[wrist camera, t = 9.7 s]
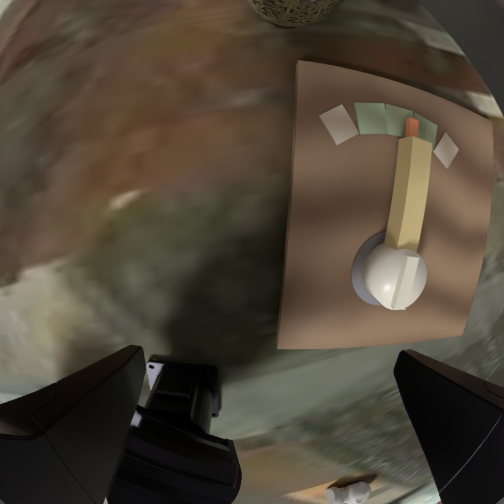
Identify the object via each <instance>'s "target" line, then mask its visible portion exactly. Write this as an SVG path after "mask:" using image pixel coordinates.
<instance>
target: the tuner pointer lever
mask: <svg viewBox="0 0 504 504" xmlns="http://www.w3.org/2000/svg"><path fill="white" fill-rule="evenodd" d="M431 153H432V143H430V142H427V141H425V140H422V139H419V138H418V120H416V119H413V118H407V119H406V130H405V138H401V139H399V142H398V153H397V163H396V172H395V180H394V188H393V195H392V201H391V208H390V214H389V220H388V225H387V231H386V236H385V241H384V243H383V244H380V245H378V246H377V247H375V248H374V249H373V250H372V251H371V252H370V253H369V254H368V256H367V257H366V259H365V261H364V264H363V267H362V281H363V284H364V286H365V288H366V289H367V290H368V291H369V292H370V293H371V294H372V295H373V296H374V297H375V298H376V299H377V300H378V301H379V302H380V303H381V304H382V305H383V306H384V307H386V308H388V309H391V310H405V308H406V307H408V306H409V305H411V304H412V303H413V302H414V301H416V299H417V298H418V297H419V296H420V294H421V293H422V291H423V289H424V286H425V283H426V278H427V269H426V265H425V262H424V260H423V259H422V257H421V256H420V255H419V254H417V248H418V243H419V239H420V234H421V229H422V223H423V217H424V212H425V205H426V199H427V191H428V184H429V175H430V165H431Z"/></svg>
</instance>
